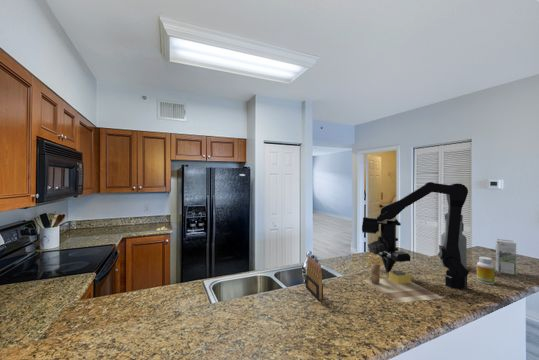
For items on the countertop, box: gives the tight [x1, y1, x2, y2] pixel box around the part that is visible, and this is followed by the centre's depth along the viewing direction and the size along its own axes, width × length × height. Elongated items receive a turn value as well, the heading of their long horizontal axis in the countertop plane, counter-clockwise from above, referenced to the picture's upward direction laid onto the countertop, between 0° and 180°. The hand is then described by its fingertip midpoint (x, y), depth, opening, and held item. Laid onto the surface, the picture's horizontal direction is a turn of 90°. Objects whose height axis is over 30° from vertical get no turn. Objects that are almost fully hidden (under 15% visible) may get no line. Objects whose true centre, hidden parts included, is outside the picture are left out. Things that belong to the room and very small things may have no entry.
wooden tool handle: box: [370, 262, 381, 284], centre depth 94 cm, size 3×3×7 cm
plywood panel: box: [363, 277, 444, 304], centre depth 90 cm, size 18×19×1 cm
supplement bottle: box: [476, 256, 496, 285], centre depth 99 cm, size 5×5×10 cm
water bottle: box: [440, 212, 468, 268], centre depth 118 cm, size 10×10×28 cm
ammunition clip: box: [305, 255, 324, 301], centre depth 87 cm, size 11×2×12 cm, turn 14°
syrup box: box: [495, 238, 517, 276], centre depth 111 cm, size 6×6×14 cm
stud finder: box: [388, 270, 412, 284], centre depth 97 cm, size 6×5×4 cm
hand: (387, 272), depth 103 cm, fingers closed
